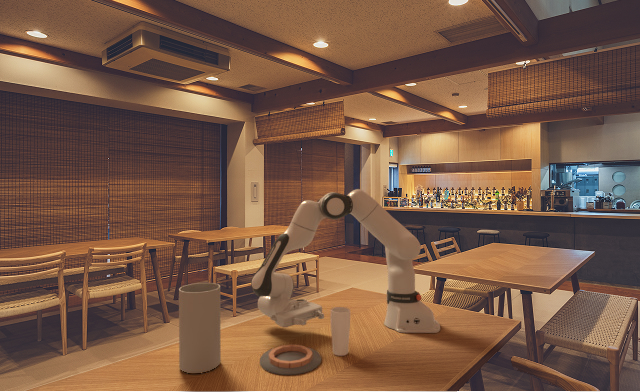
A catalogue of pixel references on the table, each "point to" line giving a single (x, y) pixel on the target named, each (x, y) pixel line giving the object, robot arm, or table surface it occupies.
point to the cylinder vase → (199, 327)
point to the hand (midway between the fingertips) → (314, 319)
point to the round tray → (290, 360)
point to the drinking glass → (340, 330)
